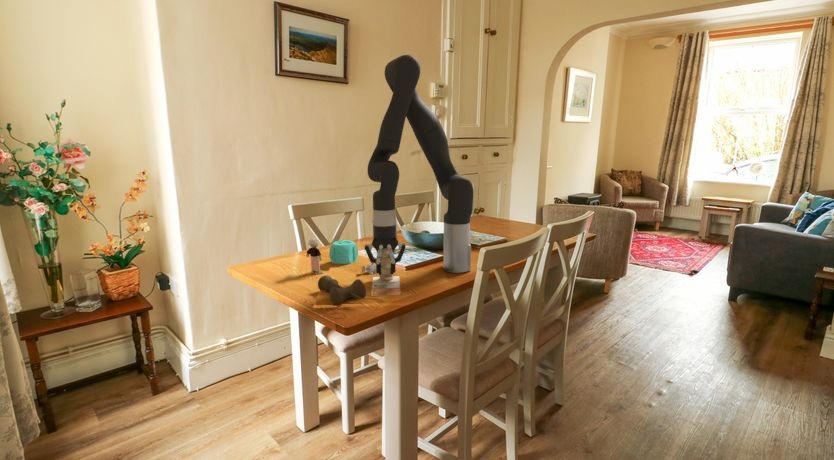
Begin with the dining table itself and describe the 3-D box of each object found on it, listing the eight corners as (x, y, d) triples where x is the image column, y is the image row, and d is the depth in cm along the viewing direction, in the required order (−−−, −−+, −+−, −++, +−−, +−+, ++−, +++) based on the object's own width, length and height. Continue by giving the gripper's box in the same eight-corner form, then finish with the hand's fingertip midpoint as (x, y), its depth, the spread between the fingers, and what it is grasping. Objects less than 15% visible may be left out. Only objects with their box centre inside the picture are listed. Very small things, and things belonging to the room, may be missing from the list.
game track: (401, 278, 150) (401, 275, 150) (402, 297, 133) (402, 294, 133) (371, 279, 150) (371, 276, 150) (369, 298, 132) (368, 295, 132)
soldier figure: (398, 278, 154) (368, 273, 147) (391, 284, 157) (361, 280, 151) (395, 258, 158) (365, 253, 152) (388, 265, 161) (359, 260, 155)
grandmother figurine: (327, 272, 158) (325, 237, 155) (321, 275, 154) (319, 240, 151) (310, 269, 161) (308, 235, 158) (303, 272, 157) (300, 238, 154)
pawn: (392, 276, 149) (392, 244, 147) (392, 281, 145) (392, 247, 142) (379, 277, 149) (378, 244, 146) (379, 281, 145) (378, 248, 142)
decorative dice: (348, 267, 164) (347, 245, 162) (329, 265, 166) (328, 244, 164) (358, 261, 171) (357, 240, 169) (340, 259, 174) (339, 239, 172)
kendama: (338, 287, 144) (374, 303, 129) (311, 295, 138) (346, 313, 123) (336, 270, 143) (373, 283, 128) (309, 277, 136) (344, 292, 122)
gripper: (406, 220, 147) (407, 270, 151) (363, 221, 146) (365, 271, 150) (407, 224, 139) (407, 277, 143) (361, 225, 139) (363, 278, 142)
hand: (385, 273), depth 147 cm, fingers closed on pawn, 3 cm apart
